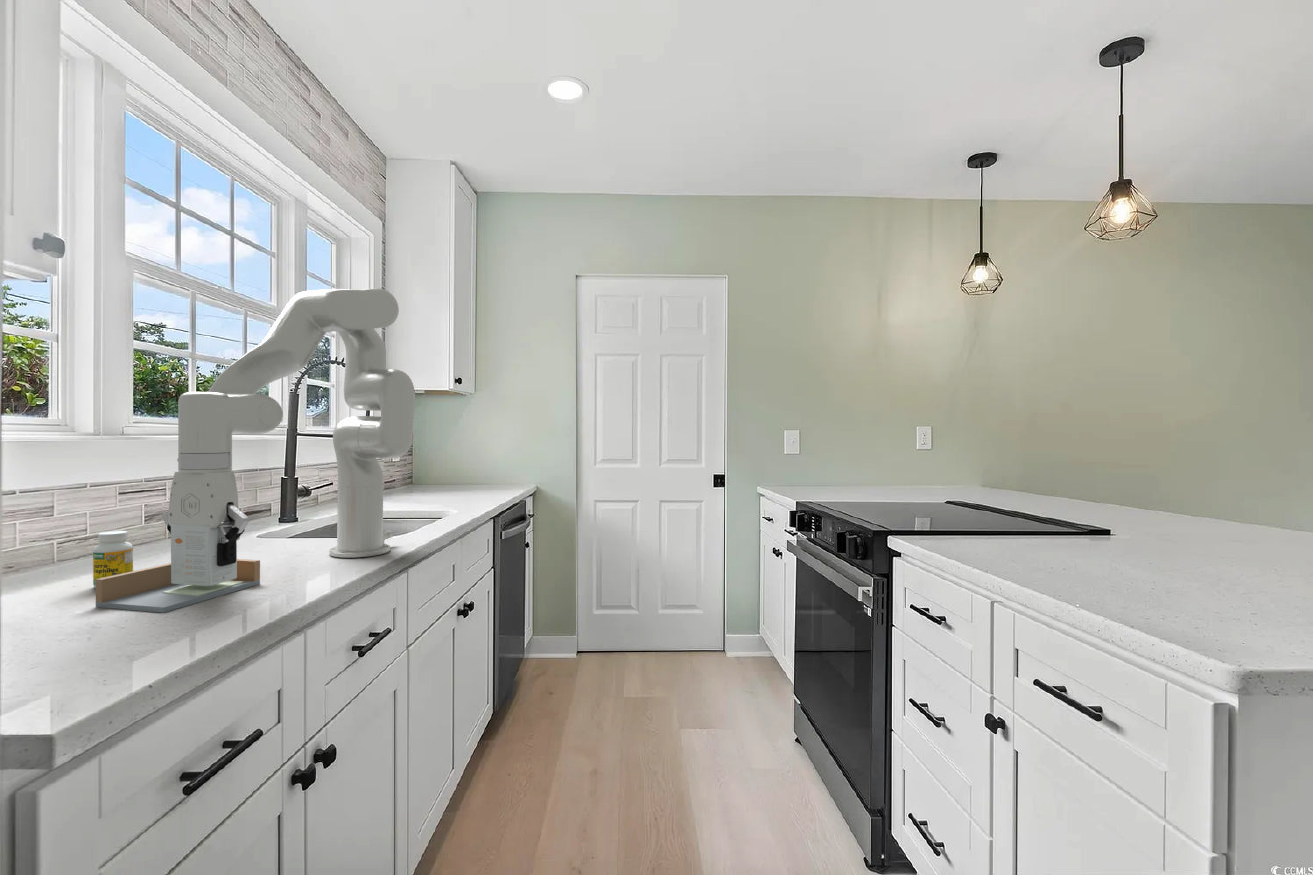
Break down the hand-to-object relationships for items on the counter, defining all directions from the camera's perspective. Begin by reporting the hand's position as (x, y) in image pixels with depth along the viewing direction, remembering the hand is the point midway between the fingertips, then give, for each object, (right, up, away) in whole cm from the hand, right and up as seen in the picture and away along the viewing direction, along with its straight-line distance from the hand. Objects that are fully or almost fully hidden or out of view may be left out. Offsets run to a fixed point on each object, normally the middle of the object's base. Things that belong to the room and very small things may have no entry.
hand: (205, 562), depth 105 cm
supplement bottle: (-19, -5, +4) cm, 20 cm away
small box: (0, -3, 0) cm, 3 cm away
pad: (0, -5, 0) cm, 5 cm away
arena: (-2, -5, -2) cm, 6 cm away
